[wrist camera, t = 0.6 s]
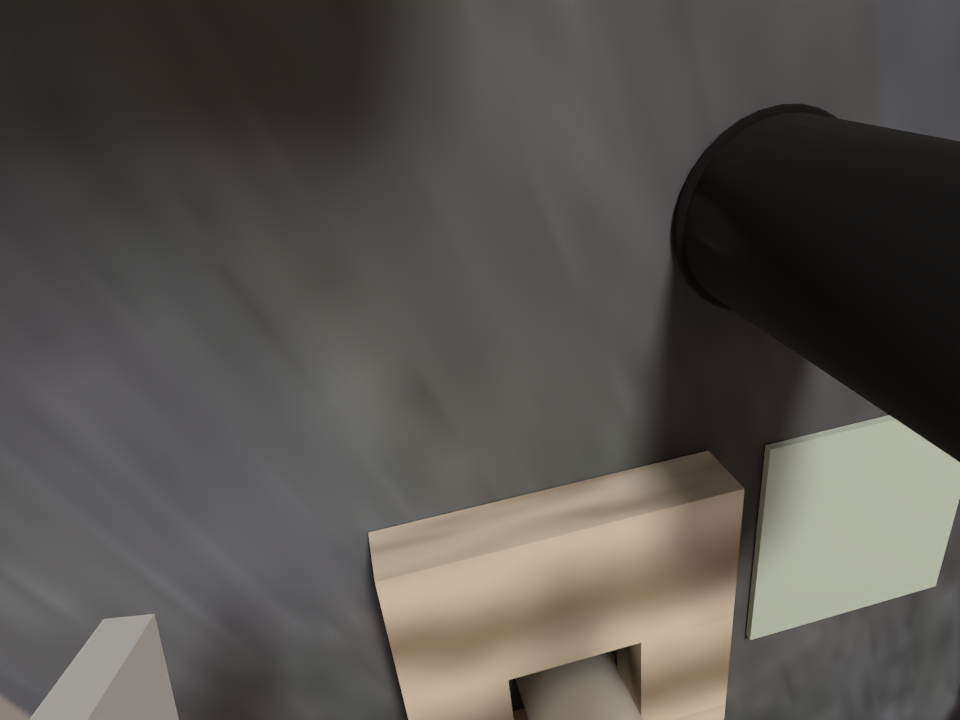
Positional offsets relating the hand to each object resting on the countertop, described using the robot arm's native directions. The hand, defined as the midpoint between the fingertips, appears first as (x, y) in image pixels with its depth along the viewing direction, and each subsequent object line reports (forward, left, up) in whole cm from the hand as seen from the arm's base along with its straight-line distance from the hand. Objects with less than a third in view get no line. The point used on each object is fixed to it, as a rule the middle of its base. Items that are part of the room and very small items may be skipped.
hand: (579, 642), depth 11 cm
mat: (+18, +21, -17) cm, 32 cm away
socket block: (+22, +4, -17) cm, 27 cm away
